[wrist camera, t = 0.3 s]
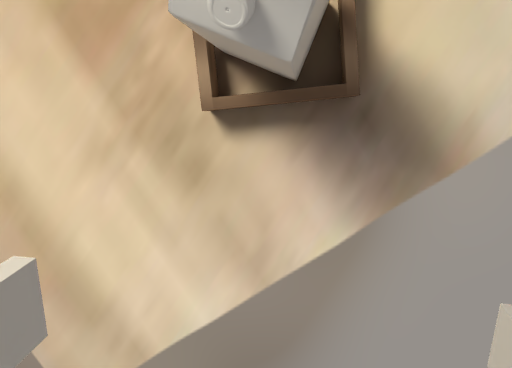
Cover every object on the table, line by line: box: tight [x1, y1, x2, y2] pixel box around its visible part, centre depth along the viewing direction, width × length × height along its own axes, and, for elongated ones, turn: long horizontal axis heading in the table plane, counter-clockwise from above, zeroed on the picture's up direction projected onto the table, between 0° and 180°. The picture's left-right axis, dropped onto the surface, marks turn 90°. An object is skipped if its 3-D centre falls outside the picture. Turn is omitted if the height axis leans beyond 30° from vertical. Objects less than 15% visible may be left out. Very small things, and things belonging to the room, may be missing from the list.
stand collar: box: [193, 0, 360, 111], centre depth 35 cm, size 13×13×3 cm
